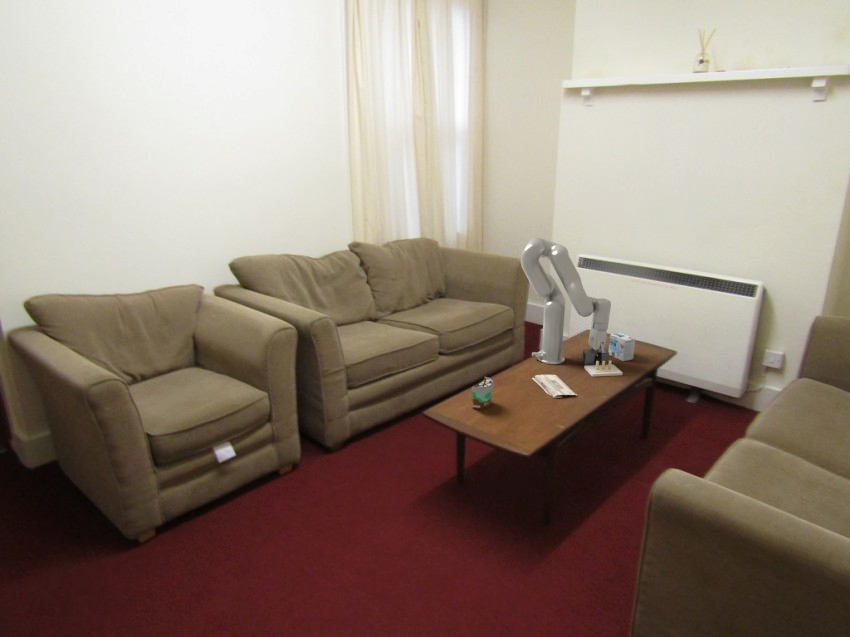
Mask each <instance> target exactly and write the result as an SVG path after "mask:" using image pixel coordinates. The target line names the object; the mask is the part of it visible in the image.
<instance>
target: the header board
mask: <svg viewBox="0 0 850 637" xmlns="http://www.w3.org/2000/svg"><path fill="white" fill-rule="evenodd" d="M583 369H584V370H585V371H586V372H587V373H588V374H589V375H590V376H591V377H592V378H593V377H595V378H596V377H608V376H609V377H610V376H611V377H612V376H613V377H614V376H623V371H622V370H620V369H619V368H618V367H617V366H616V365H615V364H612V359H611V360H609V359H608V365H605V361H603V362H602V365H599V361H596V365H584V368H583Z"/></svg>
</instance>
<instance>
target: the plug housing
mask: <svg viewBox="0 0 850 637" xmlns="http://www.w3.org/2000/svg"><path fill="white" fill-rule="evenodd" d="M608 351H609V350H607V349H606V348H605V350H604V353H603V355H602V360H601V364H599V365H602V362H603V361H605V365H609V358H610V355H609V352H608ZM599 352H600V351H598V353H599ZM581 354H582V356H581V362H584V366H591V365H596V364H595V363H594V360H595V356H596V350H594V349H590V348H583V349H582V353H581Z"/></svg>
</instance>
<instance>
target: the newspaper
mask: <svg viewBox="0 0 850 637" xmlns="http://www.w3.org/2000/svg"><path fill="white" fill-rule="evenodd" d="M531 379H532V380H533V381H534V382H535V383H536V384H537V385H538V386H540V388H542V390H544V392H545V393H546V394H547V395H550V396H551V397H553V398H554V399H562V398H563V396H568V395H569V396H575V397H578V394H577V393H576V392H574V390H572V389H571V388H570V387H569V386H568V385H567V384H566V383H565V382H564V381H563V380H562V379H561V378H560V377H559V376H558V375H556V374H537V375H534V377H532V378H531Z"/></svg>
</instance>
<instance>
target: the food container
mask: <svg viewBox="0 0 850 637" xmlns="http://www.w3.org/2000/svg"><path fill="white" fill-rule="evenodd" d="M494 388H495V384H494V382H493V379H491V378H490V377H487V376H484V379H483V380H481V381H479V382H478V383H477V384H476V385H475V386H472V387H471V393H472V394H471V395H472V397H471V398H472V409H474V410H485V409H489V408H490V406H491V404H492V403H491V402H492V400H491V399H492V392H493V390H494Z"/></svg>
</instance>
